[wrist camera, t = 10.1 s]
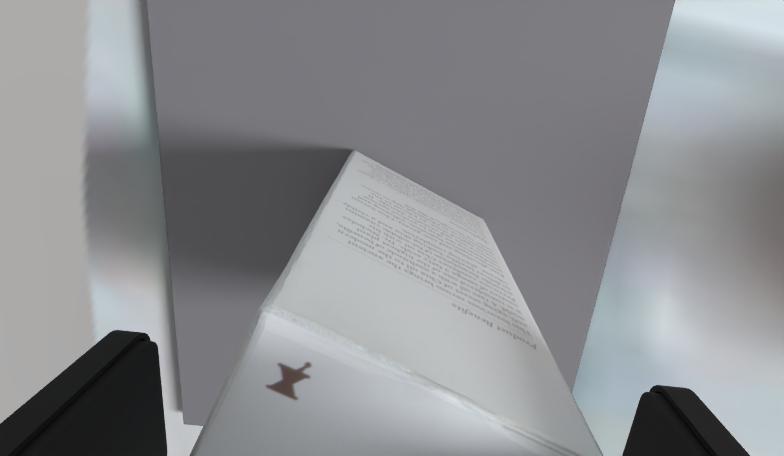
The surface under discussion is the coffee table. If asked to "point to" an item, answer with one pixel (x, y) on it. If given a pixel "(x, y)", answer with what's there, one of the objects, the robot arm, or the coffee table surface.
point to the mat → (393, 142)
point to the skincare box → (394, 341)
